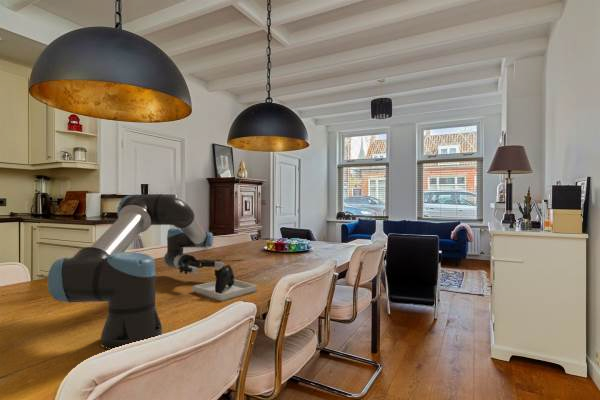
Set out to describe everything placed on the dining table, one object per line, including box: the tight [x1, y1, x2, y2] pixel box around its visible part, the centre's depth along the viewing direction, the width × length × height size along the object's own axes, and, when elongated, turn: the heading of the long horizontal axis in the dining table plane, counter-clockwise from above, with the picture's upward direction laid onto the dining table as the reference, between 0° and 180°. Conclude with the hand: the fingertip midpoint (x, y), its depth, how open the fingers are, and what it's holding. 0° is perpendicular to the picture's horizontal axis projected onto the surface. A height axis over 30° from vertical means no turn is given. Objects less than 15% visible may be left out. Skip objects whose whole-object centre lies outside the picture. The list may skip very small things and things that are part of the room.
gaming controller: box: [214, 264, 235, 294], centre depth 139 cm, size 14×6×10 cm, turn 169°
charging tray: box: [192, 278, 258, 302], centre depth 139 cm, size 18×19×2 cm
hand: (210, 268), depth 146 cm, fingers open, 13 cm apart
